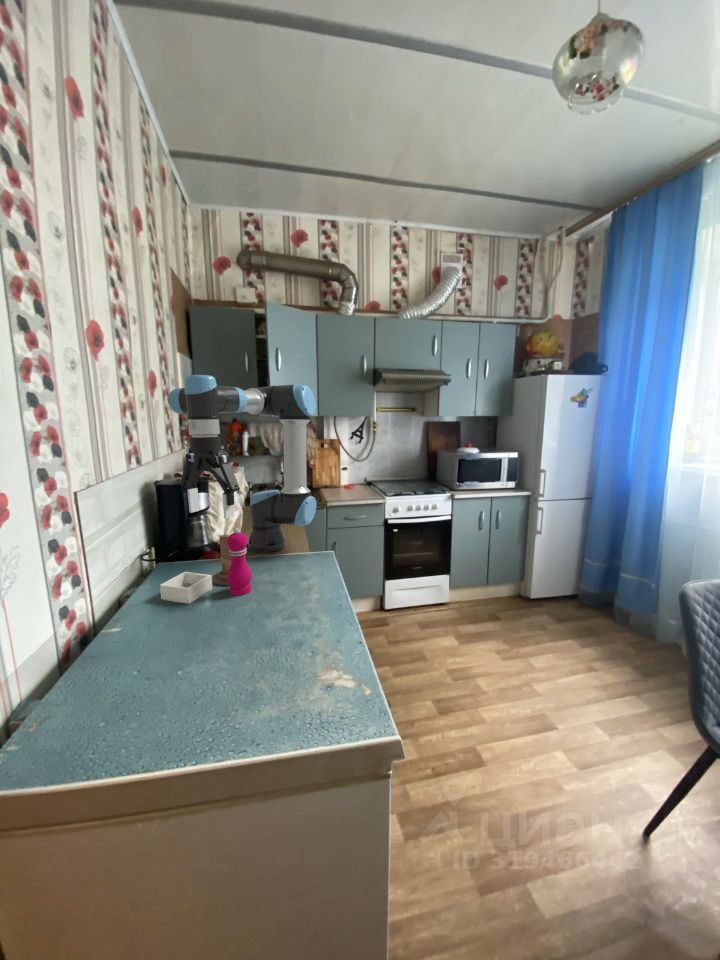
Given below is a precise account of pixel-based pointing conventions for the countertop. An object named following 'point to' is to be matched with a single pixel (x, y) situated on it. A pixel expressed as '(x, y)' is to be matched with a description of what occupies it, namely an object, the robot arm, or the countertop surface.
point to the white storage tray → (186, 587)
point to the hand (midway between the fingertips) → (211, 514)
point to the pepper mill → (238, 564)
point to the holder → (220, 578)
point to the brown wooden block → (225, 554)
